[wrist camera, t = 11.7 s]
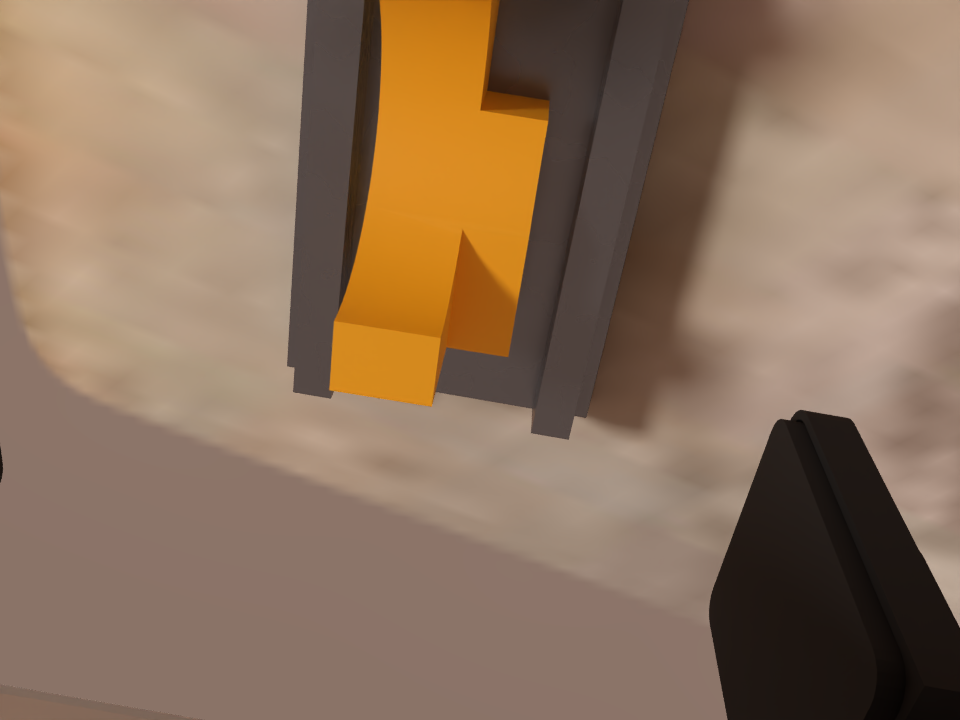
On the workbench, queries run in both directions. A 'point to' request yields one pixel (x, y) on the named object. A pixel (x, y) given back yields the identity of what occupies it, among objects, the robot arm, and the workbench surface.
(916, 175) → the workbench surface
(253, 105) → the workbench surface
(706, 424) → the workbench surface
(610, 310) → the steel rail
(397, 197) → the pipe clamp
